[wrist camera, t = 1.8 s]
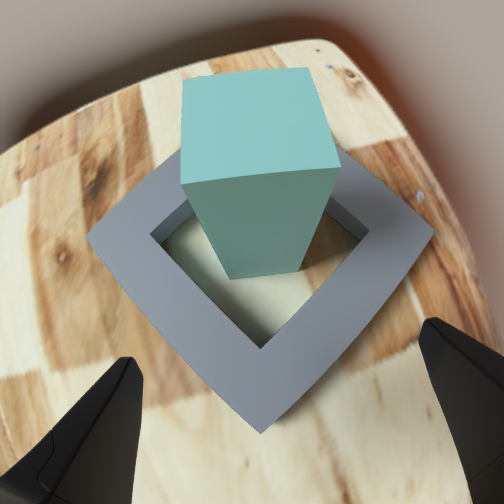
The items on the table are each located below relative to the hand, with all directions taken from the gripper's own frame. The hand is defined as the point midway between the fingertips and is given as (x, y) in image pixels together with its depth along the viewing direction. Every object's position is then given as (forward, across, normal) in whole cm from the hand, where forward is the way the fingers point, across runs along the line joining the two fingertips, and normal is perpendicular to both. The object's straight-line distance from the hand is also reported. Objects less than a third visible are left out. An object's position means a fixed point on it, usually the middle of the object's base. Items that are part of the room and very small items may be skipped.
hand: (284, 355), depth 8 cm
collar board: (+15, 0, +4) cm, 15 cm away
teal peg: (+15, 0, +4) cm, 15 cm away
